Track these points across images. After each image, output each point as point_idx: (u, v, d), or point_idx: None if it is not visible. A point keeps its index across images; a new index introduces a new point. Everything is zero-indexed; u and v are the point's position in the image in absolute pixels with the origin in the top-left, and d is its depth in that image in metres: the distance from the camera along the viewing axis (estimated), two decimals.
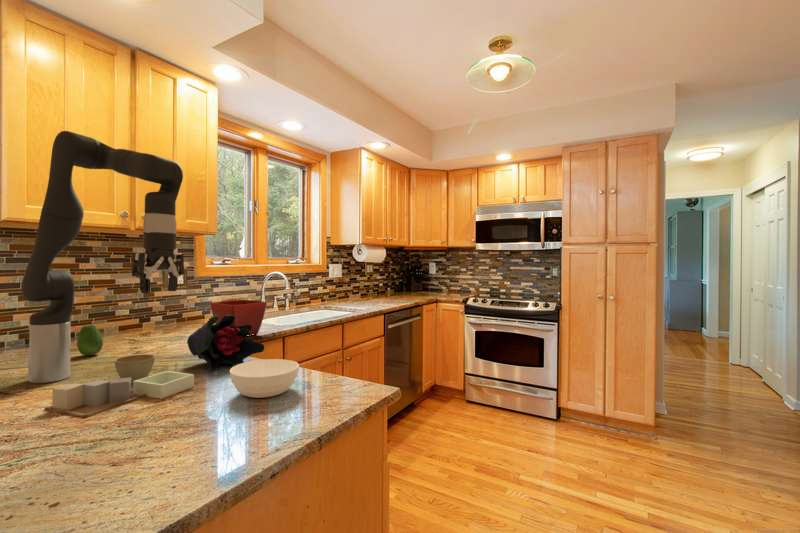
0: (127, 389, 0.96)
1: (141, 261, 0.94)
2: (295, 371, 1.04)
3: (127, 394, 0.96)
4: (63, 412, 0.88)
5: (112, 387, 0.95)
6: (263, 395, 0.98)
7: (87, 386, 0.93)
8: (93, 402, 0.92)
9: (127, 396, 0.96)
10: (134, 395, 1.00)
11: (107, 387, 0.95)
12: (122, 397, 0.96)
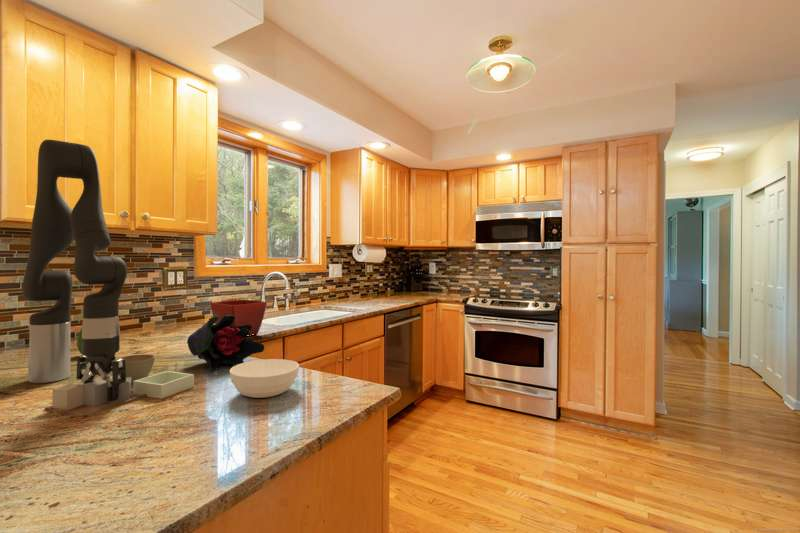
0: (127, 389, 0.96)
1: None
2: (295, 371, 1.04)
3: (128, 394, 0.96)
4: (63, 412, 0.88)
5: None
6: (263, 395, 0.98)
7: (87, 386, 0.93)
8: (93, 402, 0.92)
9: (127, 396, 0.96)
10: (134, 395, 1.00)
11: None
12: (122, 397, 0.96)
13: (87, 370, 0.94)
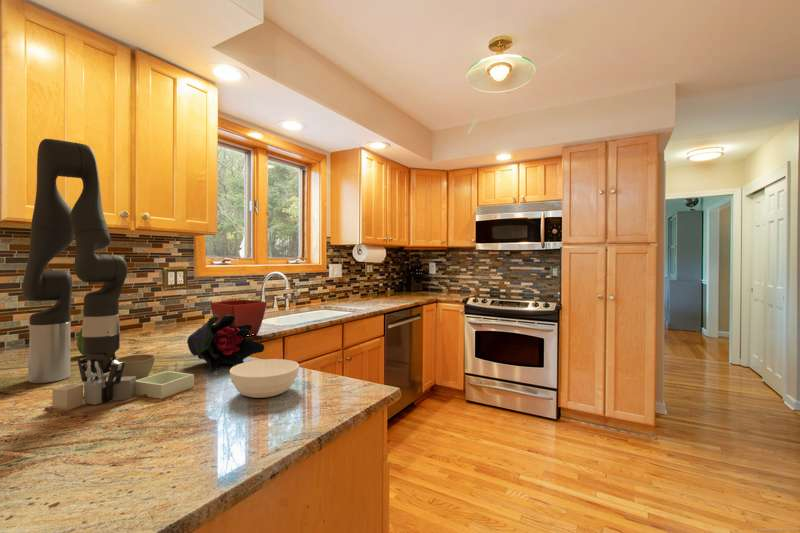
0: (128, 388, 0.97)
1: None
2: (295, 371, 1.04)
3: (128, 393, 0.97)
4: (63, 412, 0.88)
5: None
6: (263, 395, 0.98)
7: (88, 384, 0.93)
8: (94, 401, 0.93)
9: (128, 395, 0.97)
10: None
11: None
12: (123, 395, 0.97)
13: (89, 369, 0.94)
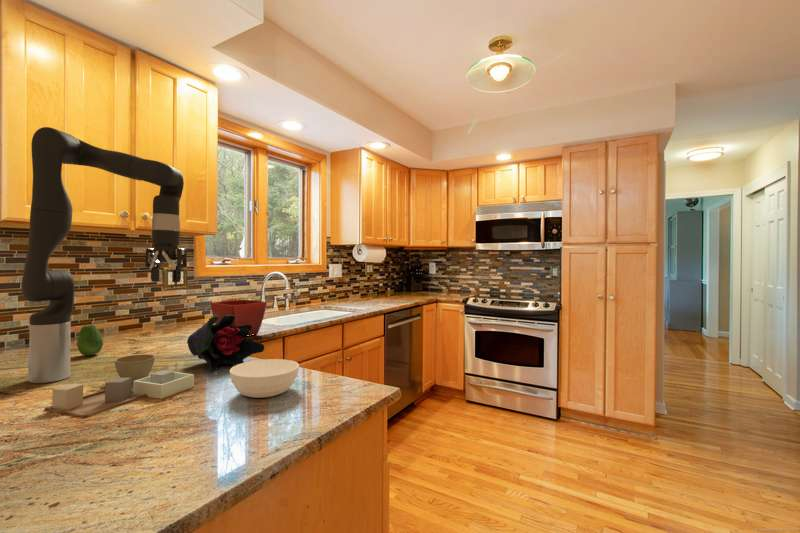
0: (120, 390, 0.96)
1: None
2: (295, 371, 1.04)
3: (121, 395, 0.96)
4: (63, 412, 0.88)
5: (107, 386, 0.95)
6: (263, 395, 0.98)
7: (155, 375, 1.03)
8: None
9: (120, 397, 0.96)
10: (134, 395, 1.00)
11: (171, 376, 1.05)
12: (116, 397, 0.95)
13: (155, 258, 1.15)
